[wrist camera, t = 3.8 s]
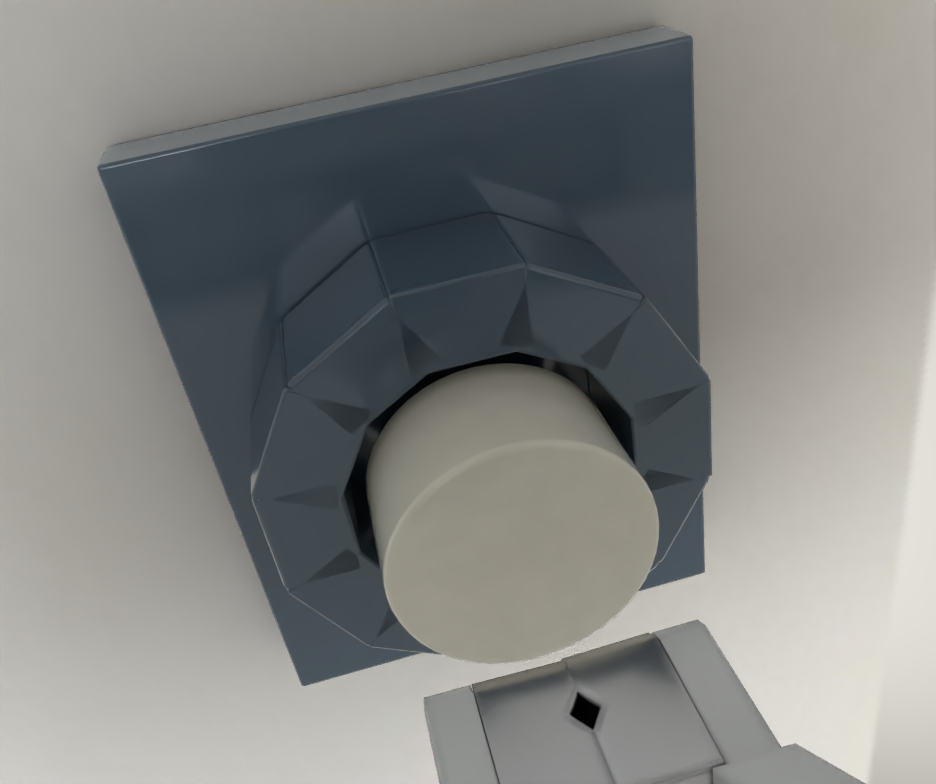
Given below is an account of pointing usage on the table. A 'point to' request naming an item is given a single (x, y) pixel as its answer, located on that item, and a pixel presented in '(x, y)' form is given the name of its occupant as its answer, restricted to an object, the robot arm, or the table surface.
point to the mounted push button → (424, 295)
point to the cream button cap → (507, 515)
